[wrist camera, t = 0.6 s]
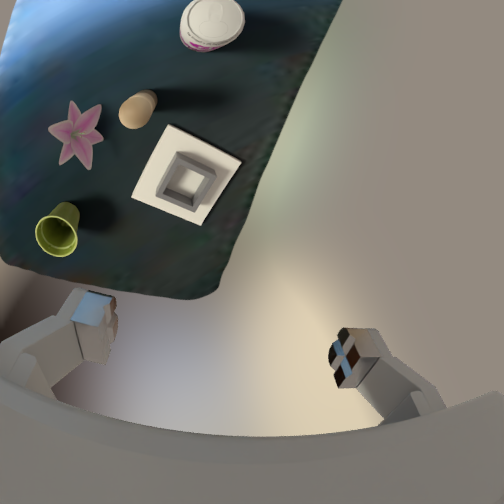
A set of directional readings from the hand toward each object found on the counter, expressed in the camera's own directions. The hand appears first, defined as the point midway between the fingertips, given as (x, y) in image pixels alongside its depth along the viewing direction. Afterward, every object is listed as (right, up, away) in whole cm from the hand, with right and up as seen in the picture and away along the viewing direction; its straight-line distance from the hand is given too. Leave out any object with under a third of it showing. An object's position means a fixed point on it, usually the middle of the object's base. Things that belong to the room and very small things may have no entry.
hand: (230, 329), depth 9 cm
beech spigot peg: (-18, +29, +32) cm, 47 cm away
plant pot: (-38, +11, +40) cm, 57 cm away
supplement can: (-8, +40, +27) cm, 49 cm away
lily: (-30, +25, +32) cm, 50 cm away
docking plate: (-12, +17, +43) cm, 48 cm away
